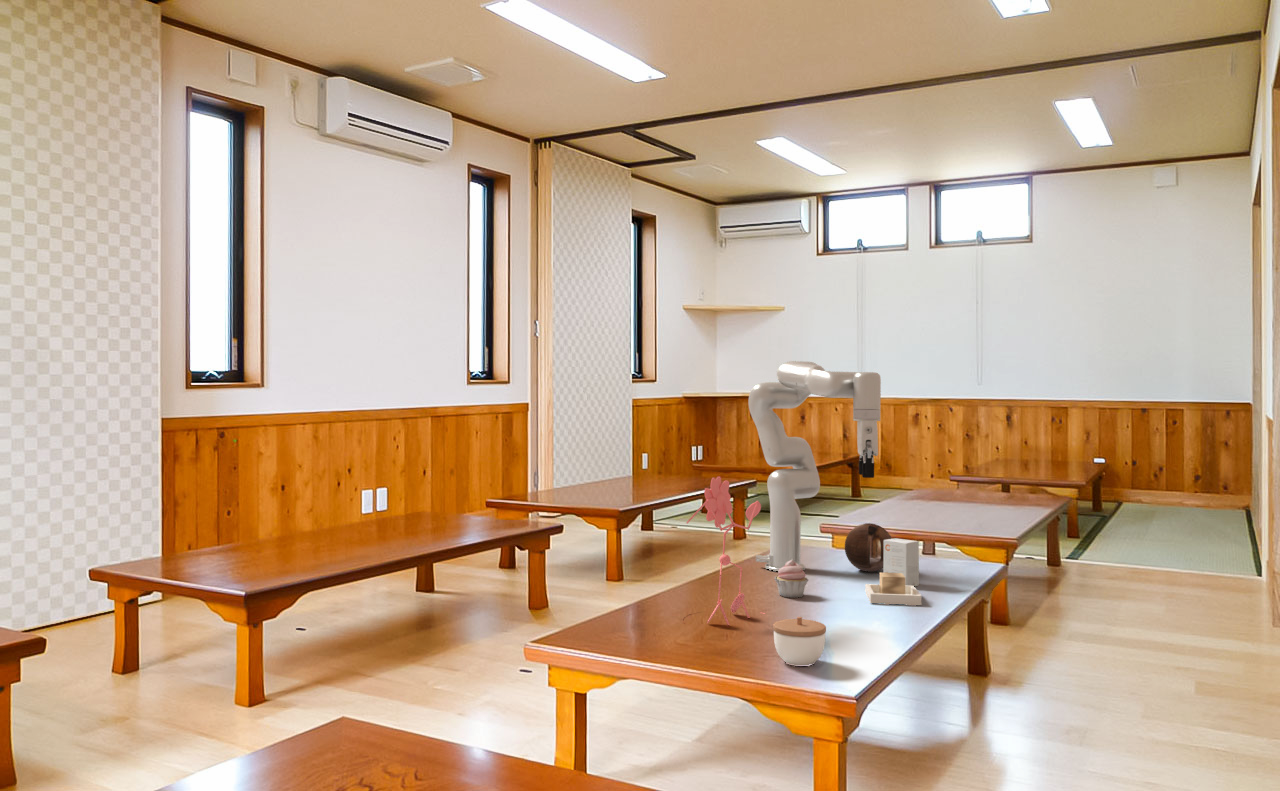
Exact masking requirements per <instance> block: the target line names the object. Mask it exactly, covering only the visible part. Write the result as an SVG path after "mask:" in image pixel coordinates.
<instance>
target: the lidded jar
mask: <svg viewBox="0 0 1280 791" xmlns="http://www.w3.org/2000/svg"><path fill="white" fill-rule="evenodd" d="M772 629H773V642H774V647H775V651H776V653H777V654H778V656H779V658H781V659H782V660H783V661H785V662H786V663H789V664H794V665H809V664H813V663H814V664H815V663H816V662H817V661H818V660H819V659H820V658H821V656H822V654H823V652H824V648H825V644H826V632H827V626H826V625H825V624H824V623H822V622H820V621H816V620H812V619H803V617H802V616H796V618H787V619H781V620H778V621H775V622H774V623H773V624H772ZM785 662H784V663H785Z"/></svg>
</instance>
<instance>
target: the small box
mask: <svg viewBox="0 0 1280 791" xmlns="http://www.w3.org/2000/svg"><path fill="white" fill-rule="evenodd" d="M919 543H920V541H919V540H918V541H917V540H913V539H912V540H910V539H904V538H892V539H887V540H884V563H883V568H882V570H883V572H882V573H902V574H903V575H904V576H905V585H908V586H915V587H918V586H919V585H920V584H919V583H920V574H919V573H920V558H919V557H920V556H919V555H920V554H919V553H920V551H919V550H920V549H919V547H920V546H919V545H920V544H919Z"/></svg>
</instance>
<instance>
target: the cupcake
mask: <svg viewBox="0 0 1280 791" xmlns="http://www.w3.org/2000/svg"><path fill="white" fill-rule="evenodd" d="M777 574H778V576H774V580H775V583H776V584H777V590H778V594H779V596H780V595H781V596H780V597H782V596H783V597H782V598H786V597H790V598H789V599H798V597H799V598H802V597H803V596H804V593H805V588H806V585H807V584H808V581H809V578H808V577H806V572H805V570H804V571H803V570H802V567H801V566H800V565H799V564H797V563H796V562H794V561H793V560H790V561H788V562H787V563H786V564H785V566H784V567H782V568H780V569H779V571H778V572H777Z"/></svg>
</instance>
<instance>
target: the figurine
mask: <svg viewBox="0 0 1280 791" xmlns="http://www.w3.org/2000/svg"><path fill="white" fill-rule="evenodd" d="M729 490H730V481H728V480H724V481H722V477H721V476H716V477H712V478H711V481H710V488H709V487H705V488H704V497H705V501H704V503H702V504H701V506H699V507H698V508H697V510H696V511H695V512H694V513H693V514H692V516H691V517H690V518H689V519H688V520H687V521H686V524H689V523H690V522H691V521H692V520H693V519H694V518H695V516H696V515H697V514H698V513H699V512H700V511H701V510H702V509H703V507H704V508H705V509H706V510H707V513H706V516H705V518H706V521H707V522H712V521H714V527H715V528H716V529H719V531H721V532H722V531H724V532H723V541H722V543H723V544H722V555H720V557H719V563H720V568H719V581H718V584H719V585H718V596H717V597H718V598H717V602H716V607H715V608H714V610H713V612H712V613H711V615H710V617H709V618H708V620H707V622H706V623H707V624H709V622H710V621H711V620H712V618H713V616H714V615H715V613H716V612H717V611H718V609H720V611H721V613H722V616H723V618H724V620H725V623H726V625H727V626H728V625H730V626H731V624H730V622H729V619H728V617H727V614H726V612H725V610H724V607H723V604H722V602H723V598H721V588H722V587H721V584H722V572H723V566H725V567H726V566H728V565H730V564H731V565H732V566H736V567H737V568H739V569H740V572H739V574H740V575H739V586H738V588H739V589H738V590H739V591H738V595H737V596H736V597H735V598H734V600H733V601H732V602H731V606H730V611H731V613H732V614H735V613H736V612H737V610H738V609H739V608H740V607H741V606H742V607H743V611H744V613H745V615H746V617H747V619H748V618H750V619H751V616H750V614H749V612H748V609H747V606H746V604H745V594H744V593H743V592H742V593H741V591H742V590H741V588H742V574H743V567H742V566H740V565H737V564H735V563H734V562H732V561H731V557H730V556H729V555H728V554H726V553H725V550H726V539H727V537H726V536H727V534H728V532H730V530H732V528H735V527H738V528H741V529H745V530H750V528H751V526H752V522H753V519H754V518H756V516H757V515H758V514H759V513H760V512H761V509H762V504H761V503H760V501H759V500H756V501H755V502H753V503H751V504H749V506H748V507H747V508H746V510H745V517H746V519H747V520H748V521H749V522H748V525H747V526H745V525H741V524H738V523H735V522H734V520H733V517H732V516H731V514H732V513H733V505H732V502H731V494H730V492H729ZM727 516H728V518H729V520H730V524H728V525H726V526H724V527H722V525H725V524H726V518H727ZM720 598H721V599H720ZM759 613H760V614H763V615H764V614H765V615H766V613H765V612H762V611H761V612H759Z"/></svg>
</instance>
